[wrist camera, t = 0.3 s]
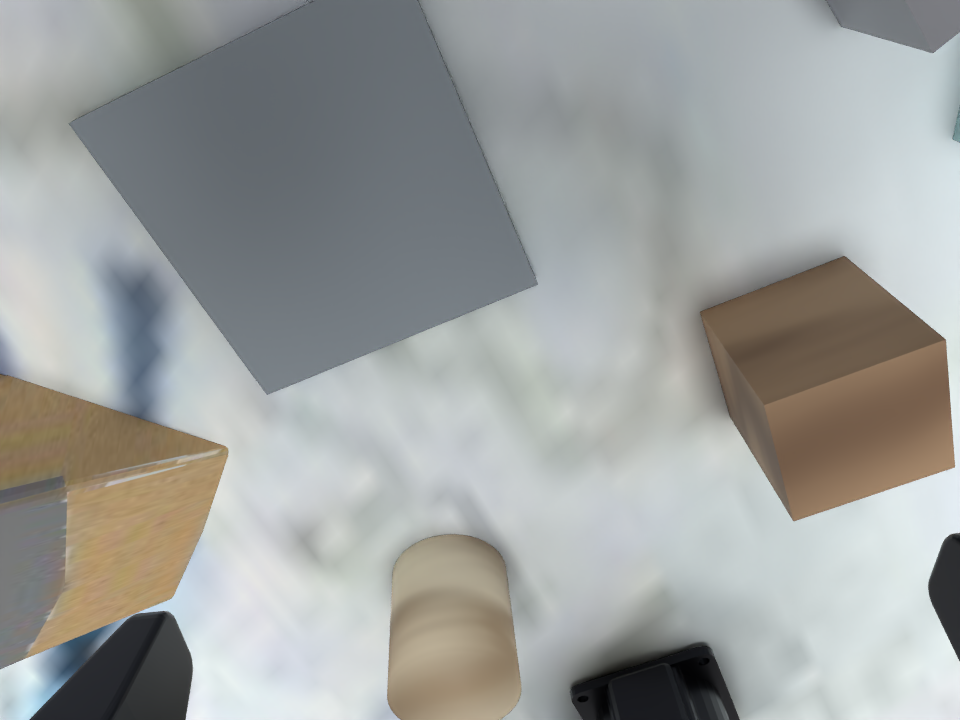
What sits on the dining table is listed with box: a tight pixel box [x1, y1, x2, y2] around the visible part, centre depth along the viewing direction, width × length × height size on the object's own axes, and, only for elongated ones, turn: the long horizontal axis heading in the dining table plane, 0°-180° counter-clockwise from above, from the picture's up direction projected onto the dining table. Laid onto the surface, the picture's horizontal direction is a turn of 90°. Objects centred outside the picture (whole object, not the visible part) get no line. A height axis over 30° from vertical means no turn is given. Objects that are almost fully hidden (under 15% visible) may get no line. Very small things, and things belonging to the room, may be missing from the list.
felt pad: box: [69, 0, 538, 395], centre depth 20 cm, size 9×9×1 cm
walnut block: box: [700, 256, 955, 521], centre depth 21 cm, size 4×4×5 cm
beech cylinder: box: [387, 534, 521, 720], centre depth 26 cm, size 4×4×5 cm
